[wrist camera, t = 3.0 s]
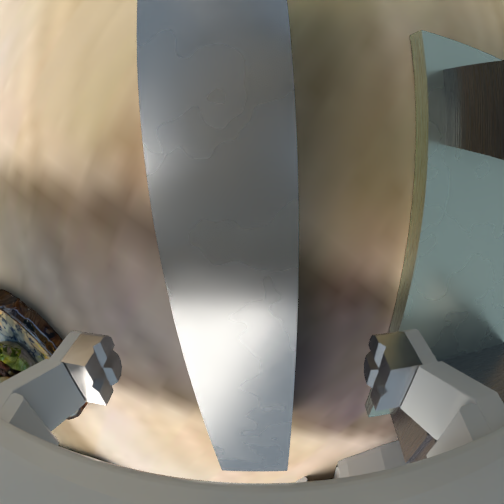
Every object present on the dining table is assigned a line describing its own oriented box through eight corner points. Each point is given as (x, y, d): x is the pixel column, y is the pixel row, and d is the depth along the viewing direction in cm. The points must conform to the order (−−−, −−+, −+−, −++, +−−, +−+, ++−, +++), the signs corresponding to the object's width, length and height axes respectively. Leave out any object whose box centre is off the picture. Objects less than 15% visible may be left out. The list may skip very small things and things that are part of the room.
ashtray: (288, 513, 29) (289, 535, 25) (277, 456, 20) (277, 497, 16) (436, 480, 27) (442, 499, 23) (505, 394, 18) (521, 421, 14)
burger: (-10, 253, 13) (-86, 315, 6) (118, 379, 16) (78, 474, 9) (-26, 331, 16) (-68, 381, 10) (64, 417, 20) (36, 476, 13)
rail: (182, 32, 9) (138, -13, 4) (276, 22, 8) (282, -33, 4) (228, 409, 17) (222, 470, 13) (284, 409, 16) (287, 470, 12)
